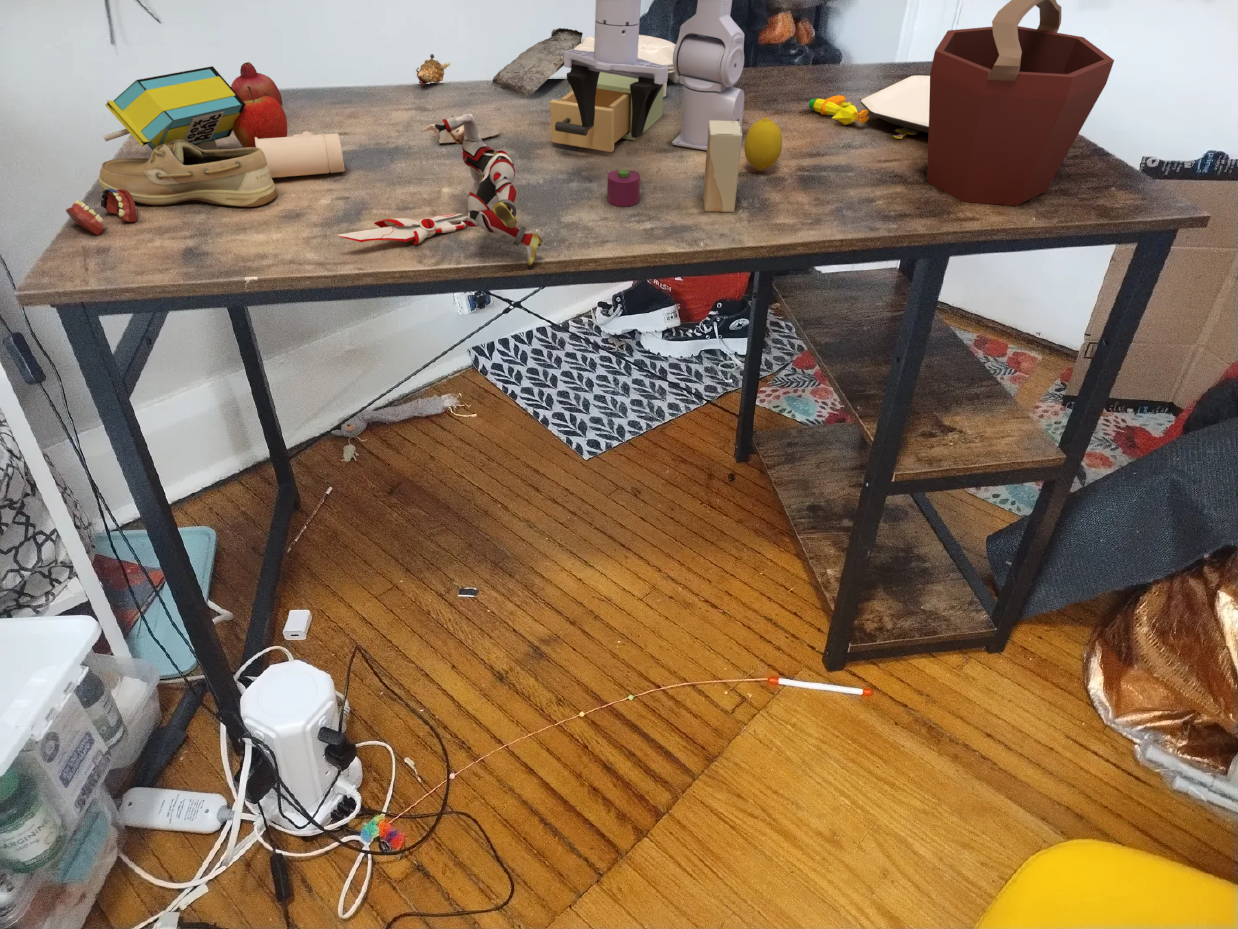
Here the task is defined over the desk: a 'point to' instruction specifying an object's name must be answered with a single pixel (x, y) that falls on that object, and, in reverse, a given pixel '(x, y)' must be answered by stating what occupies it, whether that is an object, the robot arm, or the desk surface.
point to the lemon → (763, 144)
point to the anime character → (489, 180)
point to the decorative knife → (905, 132)
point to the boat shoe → (193, 176)
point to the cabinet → (623, 85)
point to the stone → (537, 63)
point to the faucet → (302, 154)
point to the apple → (260, 121)
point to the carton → (177, 108)
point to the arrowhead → (483, 133)
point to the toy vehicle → (646, 53)
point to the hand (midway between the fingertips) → (612, 130)
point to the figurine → (431, 71)
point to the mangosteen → (623, 187)
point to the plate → (903, 103)
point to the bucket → (1009, 104)
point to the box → (722, 165)
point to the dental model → (112, 202)
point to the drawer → (607, 122)
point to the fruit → (254, 85)
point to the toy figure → (839, 109)
